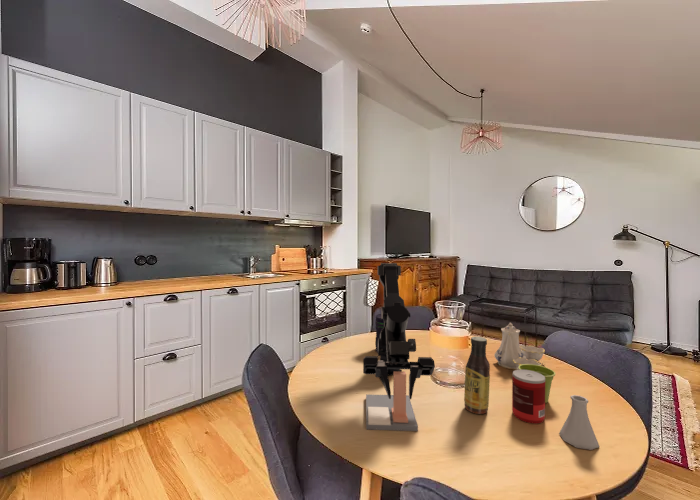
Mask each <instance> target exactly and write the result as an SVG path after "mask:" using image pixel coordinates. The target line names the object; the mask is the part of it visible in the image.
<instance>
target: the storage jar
mask: <svg viewBox="0 0 700 500" xmlns="http://www.w3.org/2000/svg"><path fill="white" fill-rule="evenodd" d="M383 328H384V319H382V315H381V313H378V314H376V315H375V342H374V344H375V352H376V353H377V354H378V338H380V333H381V331H382V330H383ZM380 350H382V349H380Z"/></svg>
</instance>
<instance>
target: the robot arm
mask: <svg viewBox="0 0 700 500" xmlns="http://www.w3.org/2000/svg"><path fill="white" fill-rule="evenodd" d="M377 276H379V277H378V278H379V279H378V280H379V282H380V284H381V285H382V287H383V306H381V313H380V314H381V315H382V319H384V328H383V330H382V331H381V333H380V338H378V353H377V355H375V356H374V355H372V356H371V355H365V356H363V358H362V360H363V364H362V368H363V369H362V370H363V371H362V372H363V374H364V375H375V377H376V378H379V380H380V382H381V383H382V385H383V387H384V389H385V392H386V395H388V397H389V399H391V395H392V394H391V393H392V392H391V385H390V379H389V378H390V376H393V375H394V371H402V372H403V370H409V375H408V395H409V398H410V400H412V397H413V393H414V387H415V383H416V381H417V379H420V378H421V376H433V374H434V370H435V367H436V365H435V359H433V358H432V357H431V356H418V358H417V361H409V359H410V353H412V352H413V353H415V352H416V351H417V342H416V339H415V338H408V339H407V336H406V334H407V333H406V331H407V327H408V323H409V319H410V318H411V313H410V311H409V310H408V307H407V306H406V305H405V300H404V299H403V298H402V296H401V295H400V289H399V277H400V276H402V266H401V265H398V263H397V262H380V265H377ZM405 306H406V307H405ZM380 349H382V350H380Z"/></svg>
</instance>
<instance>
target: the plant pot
mask: <svg viewBox="0 0 700 500" xmlns="http://www.w3.org/2000/svg"><path fill="white" fill-rule="evenodd" d="M518 368H519V370H531V371H534V372H537V373H540V374H542V375H543V376H544V377H545V404H547V403H548V402H549V398H550V392H551V387H552V384H553V383H552V381H553V380H554V377H555V376H556V372H555V371H554V370H553V369H551V368H549V367H547V366H543V365H542V366H539V365H533V364H522V365H519V367H518Z"/></svg>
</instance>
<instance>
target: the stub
mask: <svg viewBox="0 0 700 500" xmlns="http://www.w3.org/2000/svg"><path fill="white" fill-rule="evenodd" d="M392 376H393V378H392V379H393V381H392V382H393V385H392V387H393V390H392V391H393V394H392V395H393V408H392V416H393V422H400V423H408V417H407V413H406V395H407V373H406V371H403V370H402V371H394V374H393V375H392Z"/></svg>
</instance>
